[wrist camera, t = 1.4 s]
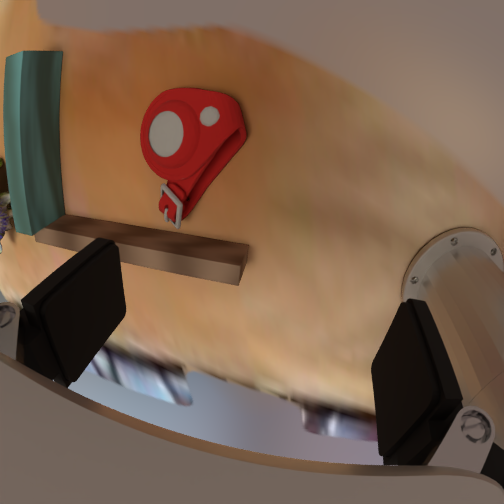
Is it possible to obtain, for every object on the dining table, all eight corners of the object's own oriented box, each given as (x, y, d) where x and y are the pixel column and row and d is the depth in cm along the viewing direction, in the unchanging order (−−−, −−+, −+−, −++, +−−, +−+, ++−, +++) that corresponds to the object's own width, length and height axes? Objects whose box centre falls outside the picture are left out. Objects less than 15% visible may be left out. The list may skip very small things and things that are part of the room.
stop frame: (273, 37, 21) (264, 19, 15) (246, 263, 30) (233, 299, 25) (44, 56, 23) (6, 57, 18) (50, 226, 33) (19, 247, 27)
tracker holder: (121, 110, 24) (208, 59, 19) (154, 112, 28) (237, 71, 23) (151, 237, 27) (247, 216, 22) (182, 226, 30) (272, 206, 25)
